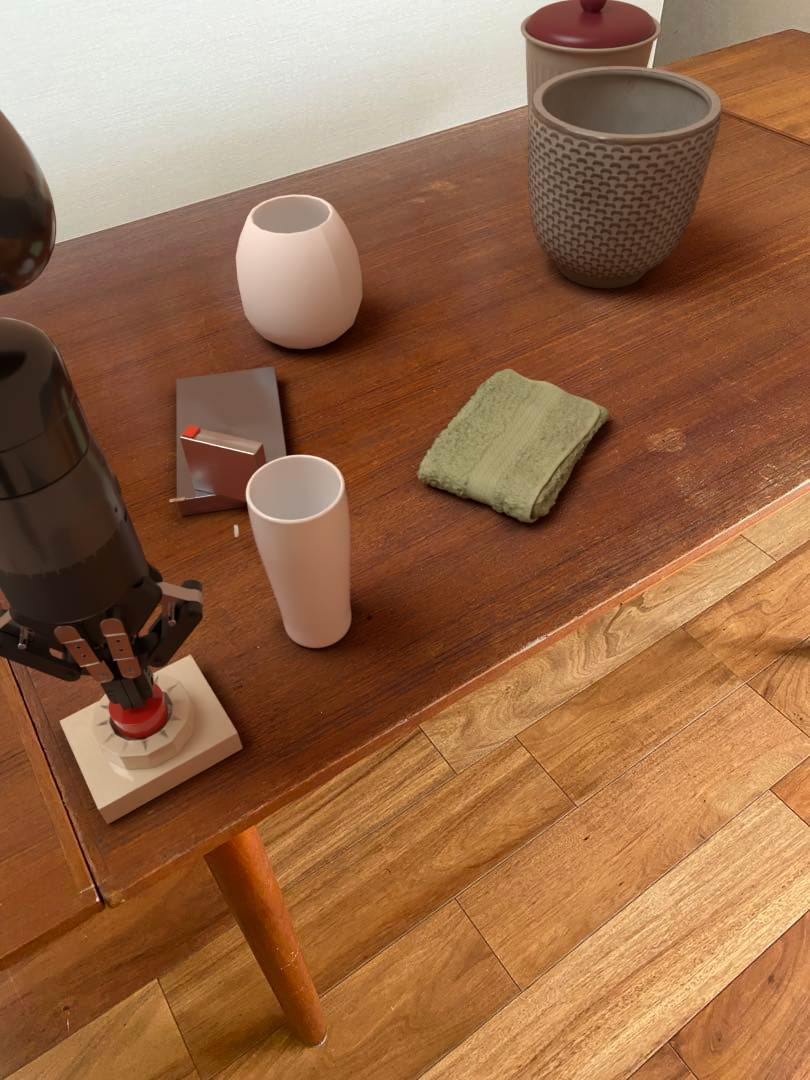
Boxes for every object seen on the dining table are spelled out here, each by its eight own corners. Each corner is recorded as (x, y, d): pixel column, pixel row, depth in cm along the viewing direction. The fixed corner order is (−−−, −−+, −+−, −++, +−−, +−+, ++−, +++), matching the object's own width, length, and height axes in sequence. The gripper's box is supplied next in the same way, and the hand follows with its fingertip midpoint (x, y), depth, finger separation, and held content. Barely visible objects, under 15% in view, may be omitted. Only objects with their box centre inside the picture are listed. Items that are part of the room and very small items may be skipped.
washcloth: (613, 420, 84) (618, 393, 82) (537, 536, 74) (540, 510, 72) (492, 381, 89) (494, 355, 87) (405, 486, 79) (404, 459, 76)
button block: (107, 824, 58) (89, 797, 55) (68, 736, 62) (50, 706, 59) (243, 748, 61) (233, 718, 58) (196, 670, 66) (185, 639, 63)
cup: (310, 284, 103) (296, 172, 93) (389, 324, 97) (383, 209, 87) (223, 332, 97) (198, 217, 87) (302, 379, 90) (285, 261, 80)
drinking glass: (329, 578, 72) (308, 439, 61) (378, 628, 68) (366, 490, 57) (259, 619, 69) (225, 482, 58) (306, 674, 65) (279, 539, 54)
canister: (578, 117, 134) (595, -43, 118) (667, 155, 123) (698, -15, 108) (487, 149, 127) (494, -16, 111) (573, 193, 117) (593, 17, 101)
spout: (273, 494, 76) (262, 440, 71) (265, 506, 75) (253, 452, 70) (203, 477, 77) (188, 423, 73) (194, 489, 76) (178, 434, 72)
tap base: (306, 543, 74) (303, 526, 73) (174, 564, 73) (168, 546, 72) (283, 380, 90) (280, 363, 89) (174, 395, 89) (169, 378, 88)
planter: (495, 240, 109) (503, 78, 95) (640, 216, 112) (668, 55, 98) (555, 325, 96) (574, 151, 82) (716, 294, 99) (762, 122, 85)
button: (126, 748, 57) (119, 735, 56) (107, 709, 59) (100, 695, 58) (177, 721, 59) (171, 707, 57) (156, 684, 61) (150, 670, 59)
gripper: (-101, 590, 42) (27, 765, 54) (177, 548, 43) (238, 728, 56) (-71, 484, 47) (40, 667, 59) (177, 449, 48) (233, 635, 61)
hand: (136, 696), depth 57 cm, fingers closed
